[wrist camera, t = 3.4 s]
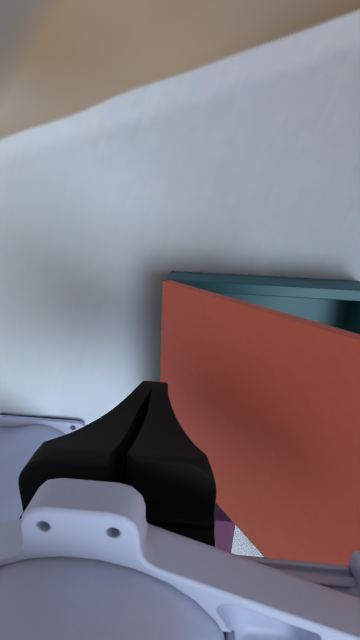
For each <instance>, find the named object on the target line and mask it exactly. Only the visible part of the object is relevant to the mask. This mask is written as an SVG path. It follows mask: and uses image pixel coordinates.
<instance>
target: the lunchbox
mask: <svg viewBox="0 0 360 640" xmlns="http://www.w3.org/2000/svg"><path fill="white" fill-rule="evenodd" d="M168 280H172V281H175V282H179V283H182V284H186V285H189V286H193V287H196V288H200V289H203V290H207V291H210V292H214V293H217V294H221V295H224V296H228V297H231V298H235V299H238V300H242V301H245V302H249V303H252V304H256V305H259V306H263V307H266V308H270V309H273V310H277V311H280V312H284V313H287V314H291V315H294V316H298V317H301V318H305V319H308V320H312V321H315V322H319V323H322V324H326V325H329V326H333V327H336V328H340V329H343V330H347V331H350V332H354V333H357V334H360V282H359V281H345V280H326V279H308V278H289V277H271V276H253V275H234V274H216V273H197V272H179V271H172V273H171V275H170V276H169V278H168Z"/></svg>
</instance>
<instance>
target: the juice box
mask: <svg viewBox="0 0 360 640" xmlns="http://www.w3.org/2000/svg"><path fill="white" fill-rule="evenodd" d="M214 520H215V528H214V536H215V547H216V548H219V549H221V550H224V551H227V552H230V553H231V548H232V542H233V535H234V529H235V523H234V522H233V521H232V520H231V519H230V518H229V517H228V516H227V514H226V513H225V512H224V511H223V510H222V509H221V508H220V507H219V506H218V504H217V503H216V502H215V511H214Z"/></svg>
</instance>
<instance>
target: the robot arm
mask: <svg viewBox="0 0 360 640" xmlns="http://www.w3.org/2000/svg"><path fill="white" fill-rule="evenodd" d="M72 425H73V426H75V427H73V426H72ZM215 502H216V483H215V478H214V475H213V471H212V468H211V465H210V462H209V460H208V457H207V455H206V454H205V453H203V452H202V451H201V450H200V449H199V448H198V447H197V446H196V445H195V444H194V443H193V442H192V441H191V440H190V438H189V437H188V436H187V434H186V433H185V432H184V430H183V428H182V427H181V425H180V423H179V422H178V420H177V418H176V416H175V413H174V411H173V409H172V406H171V403H170V399H169V395H168V384H167V383H166V382H152V381H143V382H142V383H141V384H140V385H139V386H138V387H137V388H136V389H135V390H134V391H133V392H132V393H131V394H130V395H129V396H128V397H126V398H125V399H124V400H123V401H122V402H121V403H120V404H118V405H117V406H116V407H115V408H114V409H112V410H111V411H110V412H108V413H107V414H105V415H104V416H102V417H101V418H99V419H97V420H95V421H94V422H92V423H90V424H88V425H86V426H85V424H84V423H83V422H81V421H74V420H61V419H48V418H35V417H22V416H9V415H0V640H360V550H357V551H355V552H354V553H353V554H352V556H351V558H350V561H349V566H348V565H338V564H327V563H316V562H306V561H295V560H285V559H274V558H263V557H253V556H242V555H235V554H233V553H230V552H227V551H224V550H221V549H219V548H216V547H215V536H214V528H215V520H214V511H215Z"/></svg>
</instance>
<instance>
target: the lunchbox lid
mask: <svg viewBox="0 0 360 640" xmlns="http://www.w3.org/2000/svg"><path fill="white" fill-rule="evenodd" d="M160 382H166V383H167V384H168V395H169V399H170V403H171V406H172V409H173V411H174V413H175V416H176V418H177V420H178V422H179V423H180V425H181V427H182V428H183V430H184V432H185V433H186V434H187V436H188V437H189V438H190V440H191V441H192V442H193V443H194V444H195V445H196V446H197V447H198V448H199V449H200V450H201V451H202V452H203V453H205V454H206V455H207V457H208V460H209V462H210V465H211V468H212V471H213V475H214V478H215V483H216V503H217V504H218V506H219V507H220V508H221V509H222V510H223V511H224V512H225V513H226V514H227V516H228V517H229V518H230V519H231V520H232V521H233V522H234V523H235V525H236V526H237V527H238V528H239V529H240V530H241V531H242V532H243V533H244V535H245V536H246V537H247V538H248V539H249V540H250V541H251V542H252V544H253V545H254V546H255V547H256V548H257V549H258V550H259V551H260V552H261V554H262V555H263V556H264V557H265V558H274V559H285V560H295V561H306V562H316V563H327V564H338V565H348V566H349V561H350V558H351V556H352V554H353V553H354V552H355V551H357V550H360V334H357V333H354V332H350V331H347V330H343V329H340V328H336V327H333V326H329V325H326V324H322V323H319V322H315V321H312V320H308V319H305V318H301V317H298V316H294V315H291V314H287V313H284V312H280V311H277V310H273V309H270V308H266V307H263V306H259V305H256V304H252V303H249V302H245V301H242V300H238V299H235V298H231V297H228V296H224V295H221V294H217V293H214V292H210V291H207V290H203V289H200V288H196V287H193V286H189V285H186V284H182V283H179V282H175V281H172V280H166V281H163V290H162V328H161V365H160Z"/></svg>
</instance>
